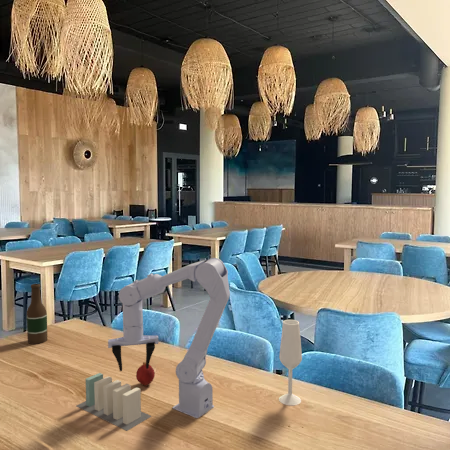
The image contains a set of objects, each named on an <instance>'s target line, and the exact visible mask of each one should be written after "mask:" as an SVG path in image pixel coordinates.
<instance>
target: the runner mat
mask: <svg viewBox="0 0 450 450" xmlns="http://www.w3.org/2000/svg"><path fill="white" fill-rule="evenodd" d="M75 407H77V408H79V409H81V410H83V411H85V412H87V413H89V414H91V415H93V416H95V417H98V418H100V419H102V420H104V421H106V422H108V423H109V424H112V425H114V426H116V427H118V428H120V429H122V430H124V431H126V432H128V431H130V430H131V429H133V428H135V427H136V426H138V425H140V424H142V423H143V422H145V421H146V420H148V419H150V418H152V415H150V414H148V413H146V412H143V411H141V417H140V418H138V419H136V420H134V421H133V422H131V423H129V424H128V425H127V424H124V423H123V417H122V418H120V419H118V420H116V419H114V418H113V413H111V414H110V415H106V414H104V409H102V410H100V411H97V410H95V405H93V406H91V407H89V406H87V405H86V400H85V401H83V402H81V403H79V404H76V406H75Z"/></svg>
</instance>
